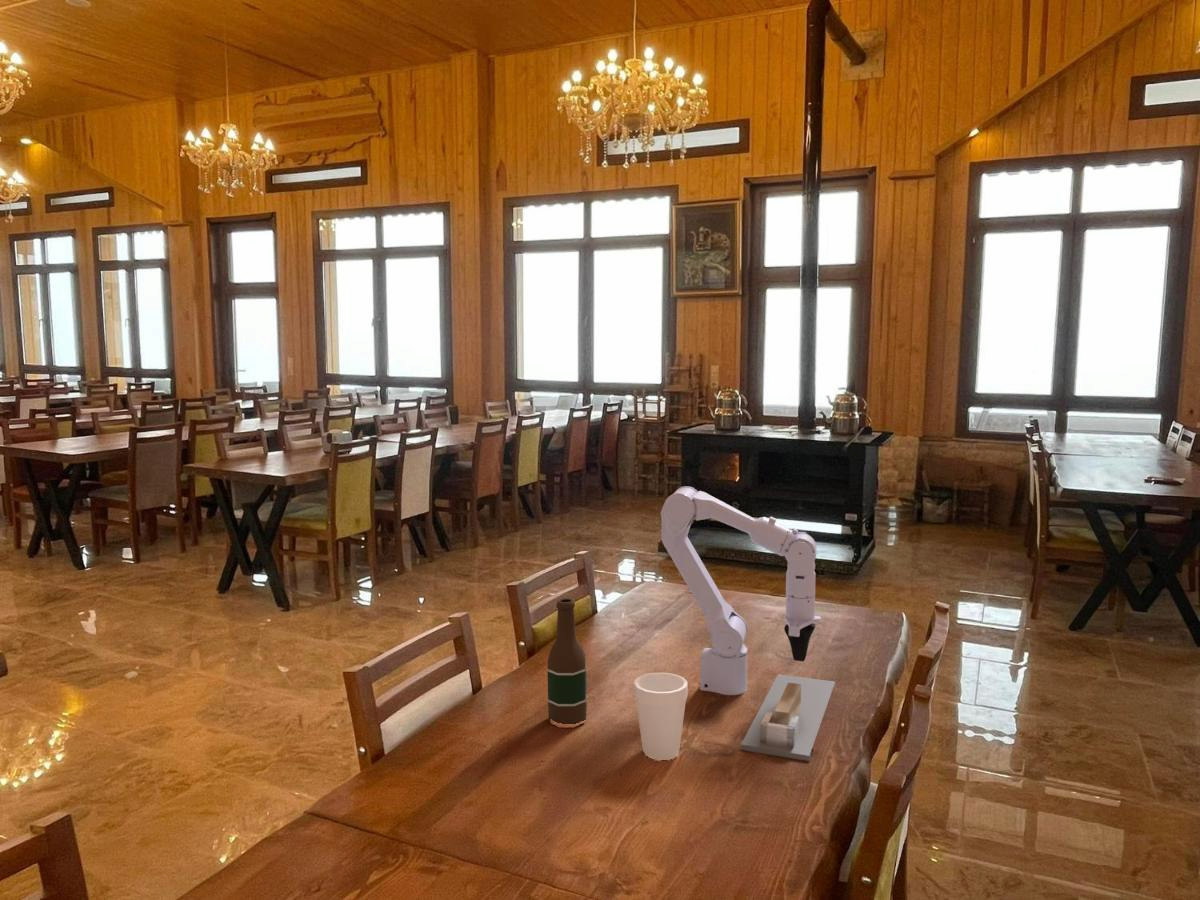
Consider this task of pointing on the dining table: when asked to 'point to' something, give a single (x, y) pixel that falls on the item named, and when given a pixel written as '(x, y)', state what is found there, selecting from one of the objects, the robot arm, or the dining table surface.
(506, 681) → the dining table surface
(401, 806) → the dining table surface
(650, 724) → the foam cup
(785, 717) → the birch slat
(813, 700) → the assembly board
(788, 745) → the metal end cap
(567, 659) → the beer bottle
